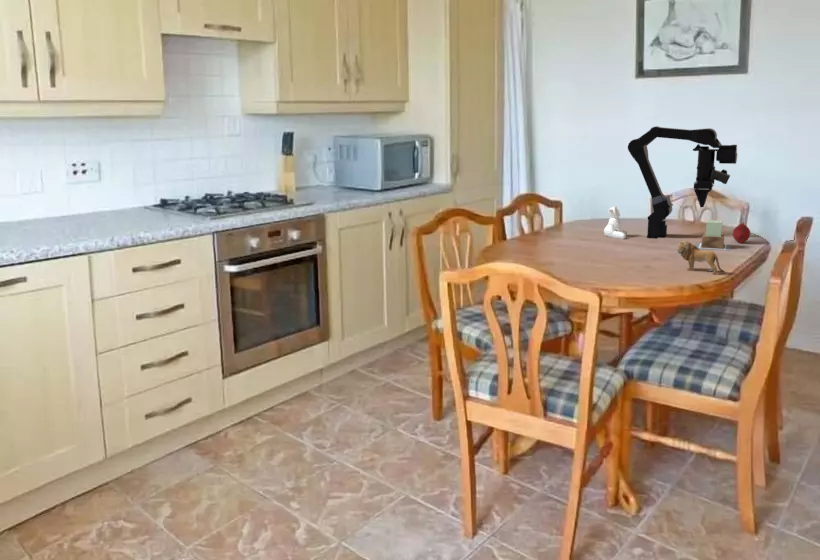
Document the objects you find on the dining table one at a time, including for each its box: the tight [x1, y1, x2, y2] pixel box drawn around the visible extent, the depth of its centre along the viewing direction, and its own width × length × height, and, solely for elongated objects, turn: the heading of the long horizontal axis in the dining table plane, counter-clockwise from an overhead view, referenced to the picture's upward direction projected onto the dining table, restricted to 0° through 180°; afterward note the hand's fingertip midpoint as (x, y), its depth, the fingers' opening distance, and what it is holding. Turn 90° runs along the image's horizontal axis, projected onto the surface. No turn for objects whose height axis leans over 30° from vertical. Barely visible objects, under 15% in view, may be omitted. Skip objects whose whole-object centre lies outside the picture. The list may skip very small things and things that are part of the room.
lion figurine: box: [676, 240, 726, 275], centre depth 223 cm, size 15×5×9 cm, turn 52°
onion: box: [732, 221, 751, 244], centre depth 262 cm, size 6×6×8 cm
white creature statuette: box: [603, 205, 628, 240], centre depth 281 cm, size 10×9×12 cm
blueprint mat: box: [694, 242, 732, 252], centre depth 258 cm, size 12×12×1 cm
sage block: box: [705, 219, 723, 237], centre depth 256 cm, size 5×5×5 cm
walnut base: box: [701, 232, 725, 249], centre depth 257 cm, size 7×7×4 cm
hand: (702, 205), depth 269 cm, fingers open, 9 cm apart
